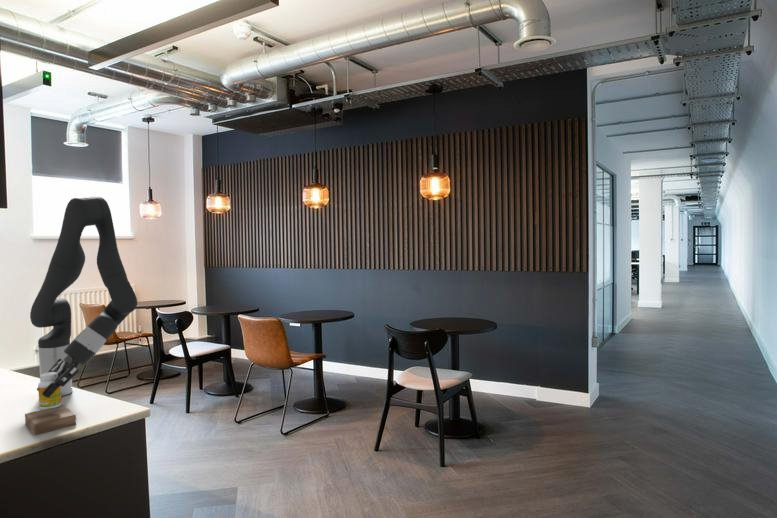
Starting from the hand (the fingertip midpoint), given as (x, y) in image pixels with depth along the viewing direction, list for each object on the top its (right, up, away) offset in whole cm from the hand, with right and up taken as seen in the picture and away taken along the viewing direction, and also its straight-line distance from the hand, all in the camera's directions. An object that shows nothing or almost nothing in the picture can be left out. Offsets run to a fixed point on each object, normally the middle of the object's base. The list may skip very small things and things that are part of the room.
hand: (42, 393), depth 147 cm
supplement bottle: (+1, -4, +2) cm, 5 cm away
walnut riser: (+1, -9, +2) cm, 10 cm away
